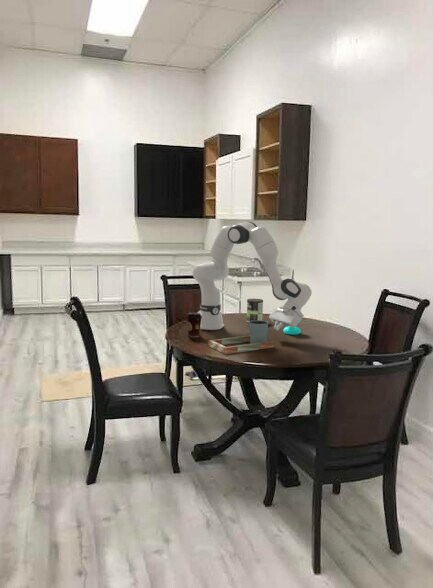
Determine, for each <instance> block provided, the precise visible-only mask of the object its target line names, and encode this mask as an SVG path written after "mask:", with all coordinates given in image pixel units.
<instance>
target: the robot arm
mask: <svg viewBox="0 0 433 588" xmlns="http://www.w3.org/2000/svg"><path fill="white" fill-rule="evenodd" d="M246 243H251V244H252V245H253V247H254V250H255V251H256V253H257V255H258V256H259V260H260V261H261V263H262V265H263V267H264V270H265V272H266V275H267V277H268V280H269V281H270V284H271V288H272V290H271V291H272V295H273V297H274V298H275V299H277V300H278V301H279V300H280V301H285V300H287V301H286V302H285V303H284V304H283V305H282V306H280V307H276V308H275V309H274V310H273V311H272V312H271V313H270V314H269V316H268V319H270V321H271V322H273V323H274V326H273V327H272V329H274V330H276V331H279V330H280V329H282V328H283V327H292V328H294V327H297V326H298V325H299V323H300V322H301V321H302V319H303V318H304V314H303V313H302V309H303V307H304V306H305V305H306V304H307V302H308V301H309V300H310V299H311V296H312V293H313V291H312V289H311V287H310V286H309V285H308V284H306V283H302V282H298V281H295V280H294V279H293V278H284V279H282V277H281V276H282V275H281V274H280V272H279V269H278V267H277V259H278V257H279V256H278V255H279V250H278V246H277V244H276V242H275V240H274V238H273V236H272V235H271V234H270V232H269V231H268V229H267V228H266V227H264V226H261V225H260V226H257V224H256V223H254V222H253V221H245V222H240V223H237V224H234V225H232V226H230V225H224V226H222V227H221V229H220V230H219V232H218V233H217V235H216V236H215V239H214V240H213V243H212V245H211V248H210V250H209V254H210V256H211V261H210V262H206V263H200V264H197V265H195V266H194V267H193V269H192V276H193V279H194V280H195V281H196V282H197V283H198V285H199V287H200V288H199V289H200V292H201V303H200V304H199V311H197V313H200V314H201V316H202V318H201V325H200V330H205V331H206V330H208V331H209V330H210V331H211V330H213V331H214V330H215V331H216V330H221V329H222V328H223V327H225V324H224V323H223V322H224V321H223V313H222V312H221V309H222V306H221V291H220V290H219V289H218V288H217V287H216V284H215V282H216V281H217V282H218V281H221V280H225V279H226V278H227V277H228V276H229V274H230V269H229V266H228V261H229V260H228V259H229V257H230V253H231V252H232V249H233V247H234V245H241V244H246ZM300 320H301V321H300Z"/></svg>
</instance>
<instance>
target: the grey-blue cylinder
mask: <svg viewBox="0 0 433 588" xmlns="http://www.w3.org/2000/svg"><path fill="white" fill-rule="evenodd" d="M248 326H249V335H250V341H249V344H253V343H260V342H267V341H268V334H269V332H268V330H269V329H268V328H269V321H267V320H263V319H262V320H254V321H249V322H248Z"/></svg>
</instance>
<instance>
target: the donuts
mask: <svg viewBox="0 0 433 588" xmlns="http://www.w3.org/2000/svg"><path fill="white" fill-rule="evenodd" d="M300 322H302V319H301V320H300ZM301 330H302V329H301V328H300V327H298V326H295V327H294V328H292V327H289V326H284V328H283V334H286V335H289V336H290V335H291V336H297V335H300V334H301V332H302V331H301Z"/></svg>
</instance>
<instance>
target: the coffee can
mask: <svg viewBox="0 0 433 588" xmlns="http://www.w3.org/2000/svg"><path fill="white" fill-rule="evenodd" d="M246 304H247V305H246V323H249V321H254V320H263V312H264V311H263V309H264V300H263V299H262V298H247V299H246Z"/></svg>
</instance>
